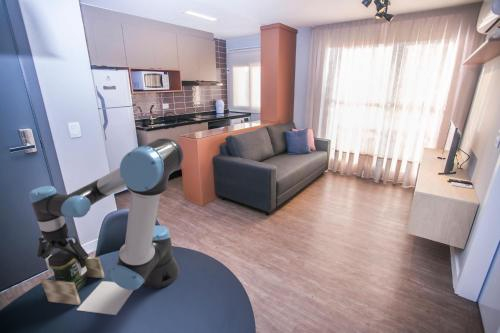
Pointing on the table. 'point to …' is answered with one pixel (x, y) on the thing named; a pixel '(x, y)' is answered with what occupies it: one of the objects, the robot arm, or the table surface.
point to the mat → (106, 299)
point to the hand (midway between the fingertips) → (68, 271)
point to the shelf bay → (71, 284)
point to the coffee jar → (66, 268)
